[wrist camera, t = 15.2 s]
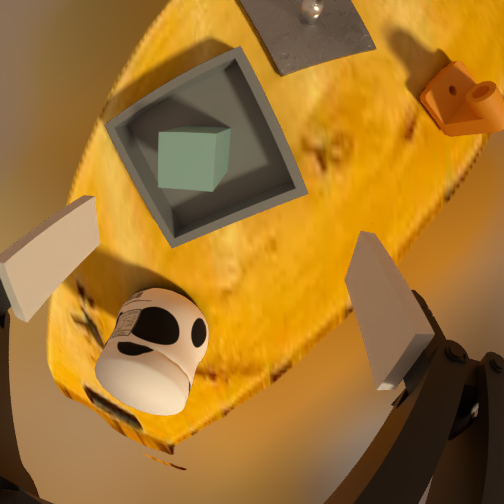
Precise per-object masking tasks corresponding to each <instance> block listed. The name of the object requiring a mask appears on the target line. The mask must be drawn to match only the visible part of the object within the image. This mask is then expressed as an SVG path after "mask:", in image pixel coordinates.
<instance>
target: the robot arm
mask: <svg viewBox="0 0 504 504" xmlns="http://www.w3.org/2000/svg"><path fill="white" fill-rule="evenodd" d="M99 245H100V238H99V231H98V223H97V215H96V205H95V196H82V197H80V198H79V199H77V200H75V201H74V202H72V203H71V204H69V205H68V206H66V207H64V208H63V209H61V210H60V211H58V212H57V213H55V214H54V215H52V216H51V217H49V218H48V219H46V220H45V221H44V222H42V223H41V224H39V225H38V226H37V227H35V228H34V229H32V230H31V231H30V232H28V233H27V234H26V235H24V236H23V237H22V238H20V239H19V240H18V241H16V242H15V243H14V244H13V245H11V246H10V247H9V248H8V249H6V250H5V251H4V252H3V253H1V254H0V504H53V503H51V502H48V501H46V500H43V499H41V498H40V497H39V495H38V492H37V489H36V486H35V484H34V481H33V480H32V478H31V476H30V475H29V473H28V472H27V471H26V469H25V468H24V466H23V464H22V462H21V459H20V455H19V450H18V445H17V440H16V435H15V429H14V423H13V416H12V407H11V397H10V384H9V327H10V315H9V313H8V311H7V310H8V309H9V308H10V307H12V309H13V311H14V313H15V315H16V317H17V318H19V319H21V320H23V321H25V322H28V321H29V320H30V319H31V317H32V316H33V315H34V314H35V313H36V311H37V310H38V309H39V308H40V307H41V306H42V304H43V303H44V302H45V301H46V300H47V299H48V298H49V296H50V295H51V294H52V293H53V292H54V291H55V290H56V289H57V288H58V286H59V285H60V284H61V283H62V282H63V281H64V280H65V279H66V278H67V277H68V276H69V275H70V274H71V273H72V272H73V270H74V269H75V268H76V267H77V266H78V265H79V264H80V263H81V262H82V261H83V260H84V259H85V258H86V257H87V256H88V255H89V254H90V253H91V252H92V251H93V250H94V249H95V248H96V247H97V246H99ZM345 283H346V286H347V289H348V292H349V295H350V298H351V301H352V304H353V307H354V310H355V314H356V317H357V320H358V323H359V327H360V330H361V334H362V337H363V341H364V344H365V348H366V351H367V355H368V359H369V363H370V366H371V370H372V374H373V378H374V382H375V386H376V390H390V389H391V390H392V389H396V387H397V386H398V384H400V382H401V381H402V380H404V383H405V386H406V388H405V390H404V391H403V392H402V393H401V394H400V395H399V396H398V398H397V399H396V400H395V401H394V402H393V403H392V404H391V405H392V406H394V407H393V409H392V411H391V413H390V414H389V416H388V417H387V419H386V421H385V423H384V424H383V426H382V428H381V429H380V430H379V432H378V434H377V435H376V437H375V438H374V440H373V441H372V443H371V444H370V446H369V447H368V448H367V450H366V451H365V453H364V454H363V456H362V457H361V458H360V460H359V461H358V462H357V464H356V465H355V466H354V468H353V469H352V470H351V472H350V473H349V474H348V476H347V477H346V478H345V479H344V480H343V482H342V483H341V484H340V485H339V487H338V488H337V489H336V490H335V491H334V492H333V494H332V495H331V496H330V497H329V498H328V499H327V500H326V502H325V503H324V504H418V503H419V501H420V499H421V497H422V496H423V494H424V492H425V490H426V488H427V486H428V484H429V482H430V480H431V478H432V476H433V478H432V481H431V486H430V489H429V493H428V497H427V500H426V503H425V504H504V359H503V358H502V357H501V356H500V355H498V354H496V353H494V352H488V353H486V355H485V356H484V357H483V359H482V360H481V361H476V360H473V359H469V357H468V355H467V353H466V351H465V350H464V348H462V346H461V345H459V344H458V343H456V342H454V341H452V340H446V338H445V336H444V334H443V332H442V331H441V329H440V327H439V325H438V323H437V321H436V320H435V318H434V317H433V316H432V312H431V311H430V309H428V306H427V304H426V302H425V300H424V299H423V298H422V297H421V296H420V295H419V294H418V293H417V292H416V291H415V290H411V289H410V288H409V286H408V284H407V283H406V281H405V279H404V278H403V276H402V275H401V273H400V271H399V270H398V268H397V266H396V265H395V263H394V262H393V260H392V259H391V257H390V256H389V254H388V252H387V251H386V249H385V248H384V246H383V245H382V243H381V242H380V240H379V239H378V237H377V236H376V235H375V234H374V233H369V232H364V231H360V234H359V237H358V241H357V244H356V247H355V250H354V253H353V256H352V259H351V262H350V265H349V268H348V271H347V274H346V277H345ZM477 408H478V414H477V416H476V417H475V416H474V411H475V410H476V409H477Z"/></svg>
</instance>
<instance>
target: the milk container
mask: <svg viewBox="0 0 504 504" xmlns="http://www.w3.org/2000/svg"><path fill="white" fill-rule="evenodd" d="M208 338H209V332H208V325H207V322H206V319H205V317H204V315H203V314H202V312H201V310H200V309H199V308H198V307H197V306H196V305H195V304H194V303H193V302H192V301H191V300H189V299H188V298H187V297H185V296H183V295H181V294H179V293H177V292H175V291H172V290H168V289H164V288H147V289H143V290H140V291H138V292H136V293H135V294H133V295H132V296H131V297H130V298H129V299H128V300H127V301H126V302H125V303H124V305H123V306H122V308H121V309H120V312H119V314H118V317H117V321H116V326H115V329H114V331H113V333H112V335H111V336H110V338H109V339H108V341H107V342H106V344H105V346H104V349H103V351H102V353H101V354H100V356H99V358H98V361H97V363H96V366H95V373H96V378H97V379H98V381H99V382H100V384H101V385H102V387H103V388H105V389H106V390H107V391H108V392H109V393H110V394H111V395H112V396H113V397H115V398H116V399H118V400H119V401H121V402H123V403H124V404H126V405H128V406H130V407H133V408H135V409H137V410H140V411H143V412H146V413H150V414H156V415H173V414H177V413H178V412H180V411H182V410H183V408H184V406H185V404H186V401H187V399H188V396H189V392H190V389H191V387H192V383H193V379H194V374H195V370H196V367H197V365H198V364H199V362H200V361H201V359H202V358H203V356H204V354H205V352H206V349H207V345H208Z"/></svg>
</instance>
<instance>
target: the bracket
mask: <svg viewBox="0 0 504 504" xmlns="http://www.w3.org/2000/svg"><path fill="white" fill-rule="evenodd" d="M424 88H425V90H424V91H423V92H422V93H421V94H420V101H421V103H422V104H423V105H424V106H425V108H426V109H427V110H428V112H429V113H430V114H431V116H432V117H433V118H434V120H435V121H436V123H437V124H438V125H439V127H440V128H441V130H442V131H443V133H444V134H445V135H448V136H451V137H452V136H461V135H471V134H482V133H495V132H499V131H501V130H503V129H504V99H503V97H502V95H501V93H500V91H499V90H498V88H497V86H496V84H495V83H494V82H491V81H486V82H482V83H479V84H477V83H476V82H475V80H474V78H473V77H472V75H471V74H470V72H469V71H468V70H467V68H466V67H465V65H464V64H463V63H462V62H461V61H454V62H450V63H449V64H448V65H447V66H446V67H445V68H442V69H441V70H440V71H439V72H438V73H437V75H436V76H435V77H434V78H433V79H432V80H431V81H430V82H429V83H428V84H427V85H426V86H425V87H424Z"/></svg>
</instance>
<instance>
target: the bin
mask: <svg viewBox="0 0 504 504" xmlns="http://www.w3.org/2000/svg"><path fill="white" fill-rule="evenodd" d="M183 126H208V127H225V128H231V134H230V146H229V158H228V171H227V173H226V174H225V175H224V177H223V178H222V179H221V181H220V182H219V184H218V185H217V186H216V188H215V189H214V191H213V192H209V191H198V190H185V189H172V188H158V140H159V132H161V131H165V130H169V129H174V128H178V127H183ZM105 127H106V129H107V131H108V134H109V136H110V138H111V140H112V142H113V144H114V146H115V148H116V150H117V151H118V153H119V155H120V157H121V159H122V161H123V163H124V165H125V167H126V169H127V171H128V173H129V174H130V176H131V178H132V180H133V182H134V184H135V186H136V187H137V189H138V191H139V193H140V195H141V196H142V198H143V200H144V202H145V204H146V205H147V207H148V209H149V211H150V212H151V214H152V216H153V218H154V219H155V221H156V223H157V224H158V226H159V228H160V230H161V231H162V233H163V235H164V236H165V238H166V240H167V241H168V243H169V245H170V246H171V248H174V247H177V246H179V245H181V244H184V243H186V242H188V241H191V240H193V239H196V238H198V237H200V236H203V235H205V234H208V233H210V232H212V231H215V230H217V229H220V228H222V227H225V226H227V225H230V224H232V223H234V222H237V221H239V220H242V219H244V218H247V217H249V216H252V215H255V214H257V213H260V212H262V211H265V210H267V209H270V208H272V207H275V206H278V205H280V204H283V203H285V202H288V201H291V200H293V199H296V198H298V197H301V196H304V195H306V194H308V191H307V189H306V186H305V184H304V181H303V179H302V176H301V174H300V171H299V169H298V166H297V164H296V161H295V159H294V157H293V154H292V152H291V150H290V147H289V145H288V143H287V140H286V138H285V136H284V134H283V131H282V129H281V127H280V125H279V122H278V120H277V118H276V116H275V114H274V112H273V109H272V107H271V105H270V103H269V101H268V99H267V97H266V95H265V93H264V91H263V89H262V87H261V85H260V83H259V81H258V79H257V77H256V75H255V73H254V71H253V69H252V67H251V65H250V63H249V61H248V59H247V57H246V55H245V53H244V52H243V50H242V48H241V46H239V47H237V48H234V49H232V50H230V51H227V52H225V53H223V54H221V55H219V56H217V57H214V58H212V59H210V60H208V61H206V62H204V63H202V64H200V65H198V66H196V67H194V68H192V69H191V70H189V71H187V72H185V73H183V74H181V75H180V76H178V77H176V78H174V79H172V80H171V81H169V82H167V83H166V84H164V85H162V86H161V87H159V88H157V89H156V90H154V91H153V92H151V93H149V94H148V95H146V96H145V97H143V98H142V99H140V100H139V101H137V102H136V103H134V104H133V105H131V106H130V107H128V108H127V109H126V110H124V111H123V112H121V113H120V114H119V115H117V116H116V117H114V118H113V119H112V120H110V121H109V122H108V123H107V124H105Z"/></svg>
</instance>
